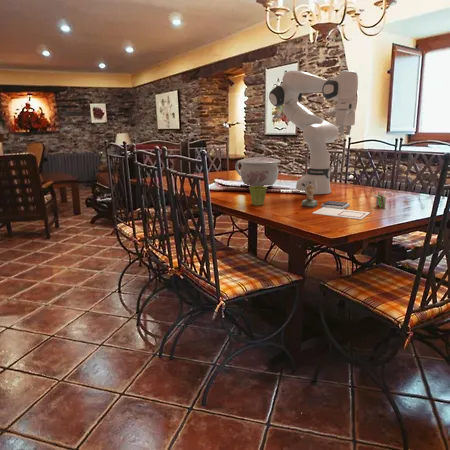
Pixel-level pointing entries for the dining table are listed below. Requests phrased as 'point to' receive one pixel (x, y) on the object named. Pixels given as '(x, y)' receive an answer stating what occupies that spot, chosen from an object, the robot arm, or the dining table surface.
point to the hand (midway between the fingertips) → (344, 135)
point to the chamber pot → (258, 170)
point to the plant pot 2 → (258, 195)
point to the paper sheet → (341, 213)
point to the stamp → (309, 198)
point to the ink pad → (335, 204)
